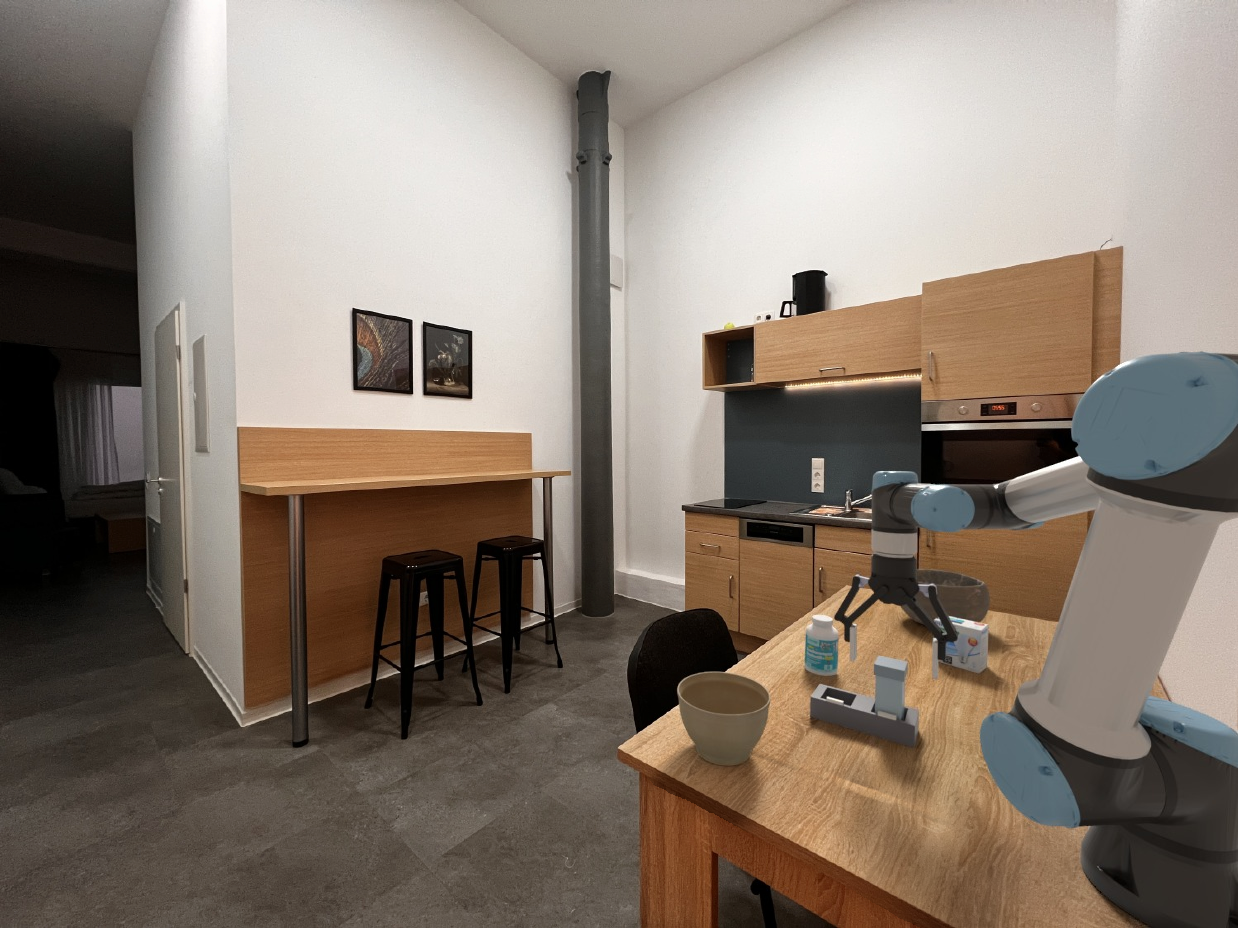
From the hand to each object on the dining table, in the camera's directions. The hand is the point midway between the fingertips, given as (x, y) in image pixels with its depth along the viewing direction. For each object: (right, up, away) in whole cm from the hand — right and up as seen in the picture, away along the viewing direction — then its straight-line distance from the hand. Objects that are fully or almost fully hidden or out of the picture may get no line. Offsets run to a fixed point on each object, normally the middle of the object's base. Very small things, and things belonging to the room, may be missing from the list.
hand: (892, 667), depth 96 cm
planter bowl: (-33, -13, -4) cm, 36 cm away
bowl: (+48, -12, +63) cm, 81 cm away
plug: (0, -12, +1) cm, 12 cm away
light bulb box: (+35, -13, +35) cm, 51 cm away
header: (-4, -13, +4) cm, 14 cm away
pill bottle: (-2, -13, +28) cm, 31 cm away
